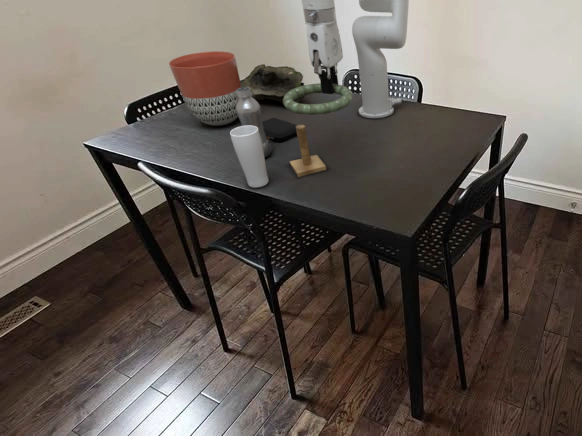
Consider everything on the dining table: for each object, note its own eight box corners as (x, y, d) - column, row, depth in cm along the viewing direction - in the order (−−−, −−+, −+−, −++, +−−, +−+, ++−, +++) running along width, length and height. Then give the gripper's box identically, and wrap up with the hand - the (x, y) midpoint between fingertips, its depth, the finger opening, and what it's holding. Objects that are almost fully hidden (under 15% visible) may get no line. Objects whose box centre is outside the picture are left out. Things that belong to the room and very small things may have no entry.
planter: (178, 129, 141) (154, 64, 128) (220, 109, 155) (202, 49, 143) (223, 137, 135) (202, 70, 122) (262, 116, 149) (247, 53, 137)
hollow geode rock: (309, 120, 158) (325, 84, 158) (286, 105, 146) (303, 66, 147) (260, 104, 170) (275, 71, 171) (236, 89, 159) (252, 53, 160)
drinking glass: (248, 178, 112) (233, 125, 104) (274, 176, 113) (261, 124, 104) (242, 191, 107) (225, 137, 98) (269, 189, 107) (255, 135, 99)
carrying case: (248, 134, 136) (277, 145, 129) (246, 125, 134) (275, 136, 127) (275, 123, 143) (304, 133, 136) (273, 115, 141) (302, 124, 134)
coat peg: (317, 158, 121) (310, 118, 114) (326, 169, 115) (319, 128, 108) (290, 165, 118) (281, 124, 111) (298, 177, 112) (289, 135, 105)
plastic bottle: (276, 153, 125) (261, 86, 113) (263, 163, 119) (245, 94, 108) (258, 150, 126) (241, 84, 115) (244, 160, 121) (224, 92, 110)
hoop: (338, 86, 115) (337, 77, 114) (364, 106, 103) (363, 97, 102) (276, 99, 108) (274, 89, 107) (296, 121, 96) (294, 111, 95)
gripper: (319, 22, 94) (331, 102, 104) (347, 10, 106) (354, 83, 117) (289, 22, 95) (304, 100, 106) (320, 10, 108) (330, 81, 118)
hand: (330, 90), depth 111 cm, fingers closed on hoop, 2 cm apart
